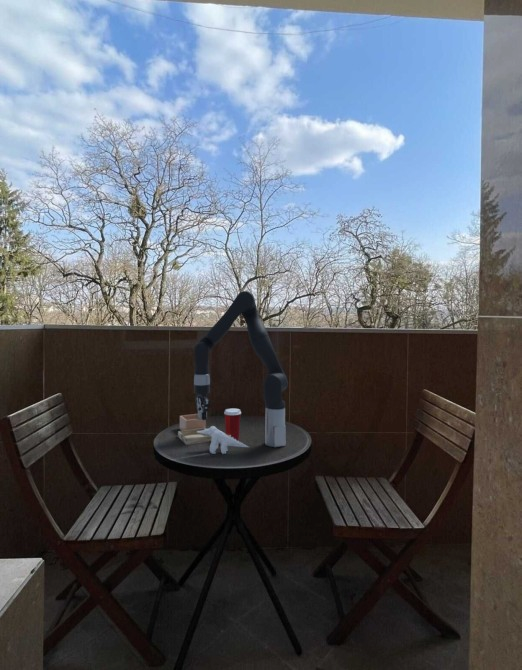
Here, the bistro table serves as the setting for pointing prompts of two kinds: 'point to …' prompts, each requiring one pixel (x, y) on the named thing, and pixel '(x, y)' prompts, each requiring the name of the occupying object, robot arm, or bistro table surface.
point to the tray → (193, 436)
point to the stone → (199, 414)
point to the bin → (191, 422)
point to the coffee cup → (232, 422)
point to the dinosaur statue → (220, 440)
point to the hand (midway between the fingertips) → (202, 418)
